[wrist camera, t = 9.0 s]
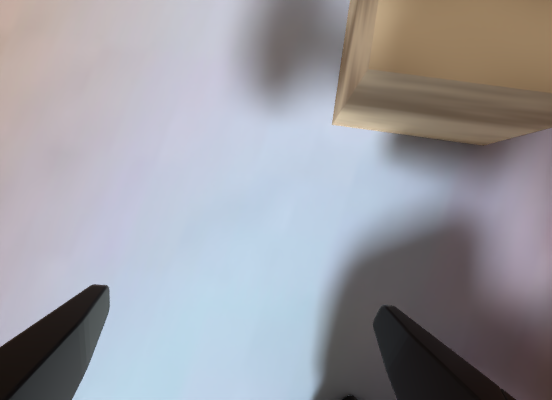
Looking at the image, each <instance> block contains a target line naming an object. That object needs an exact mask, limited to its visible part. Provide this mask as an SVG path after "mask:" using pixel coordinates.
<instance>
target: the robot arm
mask: <svg viewBox="0 0 552 400" xmlns="http://www.w3.org/2000/svg"><path fill="white" fill-rule="evenodd" d="M109 307H110V298H109V287H108V286H107V285H96V284H94V285H91V286H89V287H88V288H86V289H85V290H83V291H82V292H81V293H79V294H78V295H76V296H75V297H73V298H72V299H70V300H69V301H67V302H66V303H64V304H63V305H61V306H60V307H58V308H57V309H55V310H54V311H53V312H51V313H50V314H48V315H47V316H45V317H44V318H42V319H41V320H39V321H38V322H36V323H35V324H33V325H32V326H30V327H29V328H28V329H26V330H25V331H23V332H22V333H20V334H19V335H17V336H16V337H14V338H13V339H11V340H10V341H8V342H7V343H5V344H4V345H3V346H1V347H0V400H72V398H73V396H74V394H75V392H76V390H77V388H78V386H79V384H80V382H81V381H82V379H83V376H84V374H85V372H86V370H87V368H88V365H89V363H90V360H91V358H92V355H93V352H94V350H95V347H96V345H97V342H98V339H99V337H100V334H101V331H102V329H103V326H104V323H105V321H106V318H107V316H108V312H109ZM373 327H374V331H375V334H376V338H377V341H378V345H379V348H380V351H381V355H382V358H383V362H384V365H385V368H386V371H387V374H388V377H389V379H390V382H391V385H392V387H393V390H394V392H395V395H396V397H397V400H516V399H515V398H513V397H512V396H511V395H509V394H508V393H507V392H506V391H504V390H503V389H500V387H499V386H498V385H496V384H495V383H494V382H492V381H491V380H490V379H489V378H487V377H486V376H485V375H483V374H482V373H481V372H479V371H478V370H477V369H476V368H474V367H473V366H472V365H470V364H469V363H468V362H466V361H465V360H464V359H462V358H461V357H460V356H459V355H457V354H456V353H455V352H453V351H452V350H451V349H449V348H448V347H447V346H446V345H444V344H443V343H442V342H440V341H439V340H438V339H436V338H435V337H434V336H433V335H431V334H430V333H429V332H427V331H426V330H425V329H423V328H422V327H421V326H420V325H418V324H417V323H416V322H414V321H413V320H412V319H410V318H409V317H408V316H407V315H405V314H404V313H403V312H401V311H400V310H399V309H397V308H396V307H395V306H391V305H383V306H381V308H380V309H379V311H378V313H377V315H376V317H375V319H374V322H373ZM343 400H358V399H357V398H355V397H354V396H351V395H350V396H346V397H345V398H344V399H343Z"/></svg>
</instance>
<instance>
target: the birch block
mask: <svg viewBox="0 0 552 400" xmlns="http://www.w3.org/2000/svg"><path fill="white" fill-rule="evenodd" d="M332 125H338V126H345V127H352V128H359V129H367V130H374V131H381V132H389V133H396V134H403V135H410V136H418V137H425V138H432V139H440V140H447V141H454V142H462V143H469V144H476V145H483V146H484V145H487V144H491V143H495V142H499V141H503V140H506V139H510V138H514V137H518V136H522V135H526V134H529V133H533V132H537V131H541V130H545V129H548V128H552V0H350V4H349V11H348V18H347V25H346V32H345V39H344V45H343V52H342V59H341V66H340V73H339V79H338V86H337V93H336V100H335V107H334V114H333V120H332Z"/></svg>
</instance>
